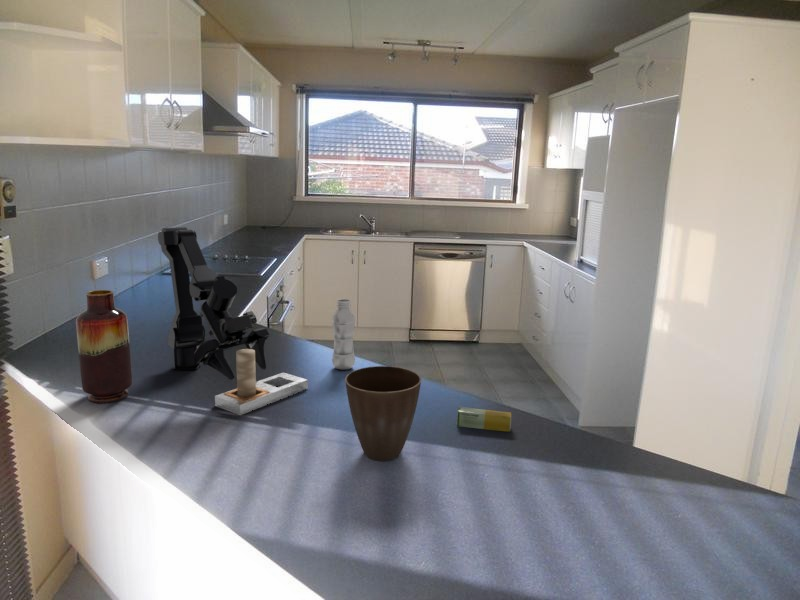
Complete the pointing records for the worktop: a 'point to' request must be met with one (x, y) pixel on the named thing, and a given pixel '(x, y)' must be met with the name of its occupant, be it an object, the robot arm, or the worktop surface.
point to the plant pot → (382, 408)
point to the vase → (104, 349)
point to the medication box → (484, 419)
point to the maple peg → (246, 373)
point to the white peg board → (262, 393)
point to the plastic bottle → (343, 336)
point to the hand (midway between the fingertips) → (249, 374)
